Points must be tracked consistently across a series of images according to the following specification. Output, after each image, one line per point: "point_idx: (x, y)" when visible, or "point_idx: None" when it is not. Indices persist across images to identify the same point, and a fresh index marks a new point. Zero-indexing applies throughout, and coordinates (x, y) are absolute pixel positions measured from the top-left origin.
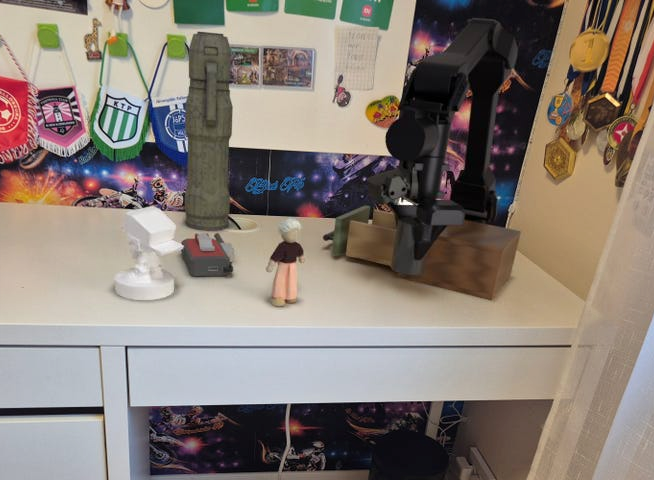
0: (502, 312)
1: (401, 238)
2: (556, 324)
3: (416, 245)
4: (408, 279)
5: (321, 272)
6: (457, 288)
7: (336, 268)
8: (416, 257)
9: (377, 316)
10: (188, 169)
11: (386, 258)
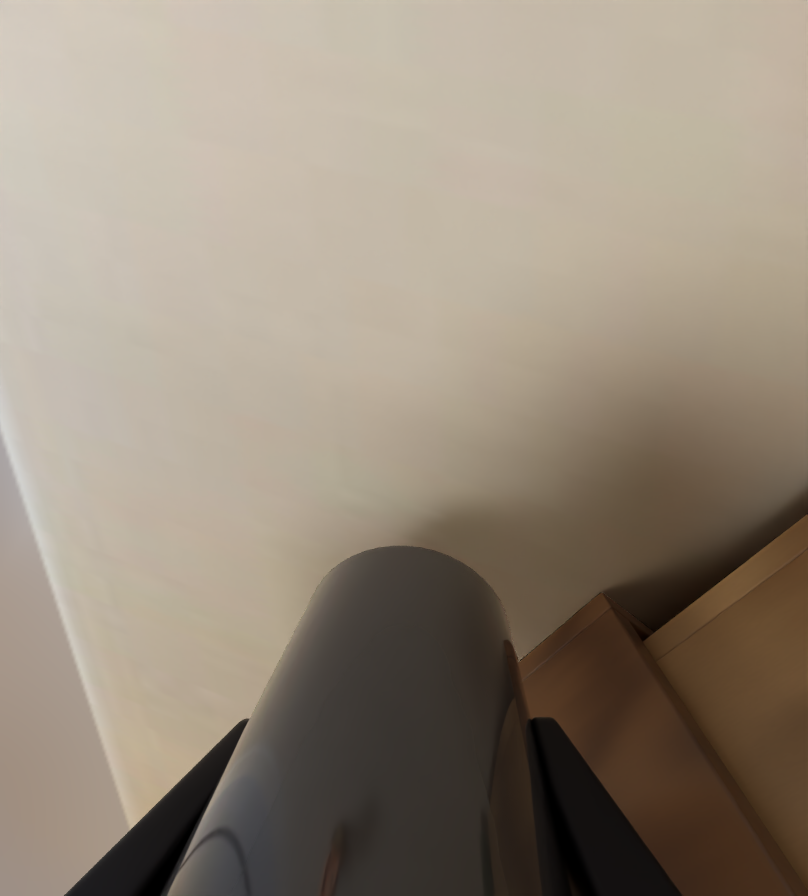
0: None
1: (239, 820)
2: None
3: (120, 857)
4: (559, 628)
5: (734, 136)
6: None
7: (800, 273)
8: (226, 739)
9: (81, 337)
10: None
11: (753, 605)
